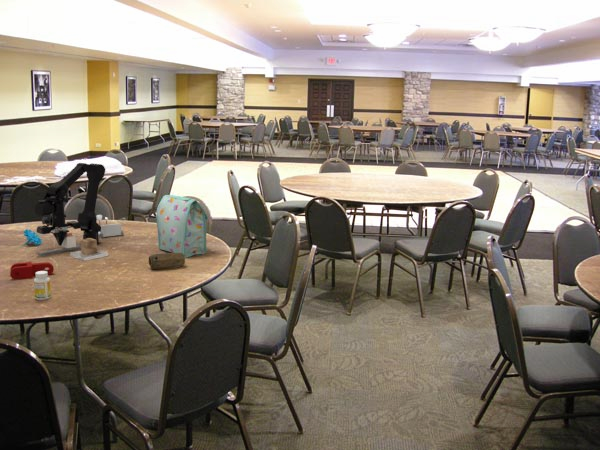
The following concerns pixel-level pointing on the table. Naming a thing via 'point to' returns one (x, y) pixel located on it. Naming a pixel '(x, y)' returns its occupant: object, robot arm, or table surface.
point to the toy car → (109, 228)
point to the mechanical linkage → (29, 269)
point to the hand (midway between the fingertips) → (60, 245)
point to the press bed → (89, 256)
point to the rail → (58, 250)
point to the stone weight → (166, 260)
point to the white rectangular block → (69, 241)
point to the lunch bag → (181, 225)
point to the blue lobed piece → (32, 237)
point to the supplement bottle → (42, 286)
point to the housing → (88, 246)
